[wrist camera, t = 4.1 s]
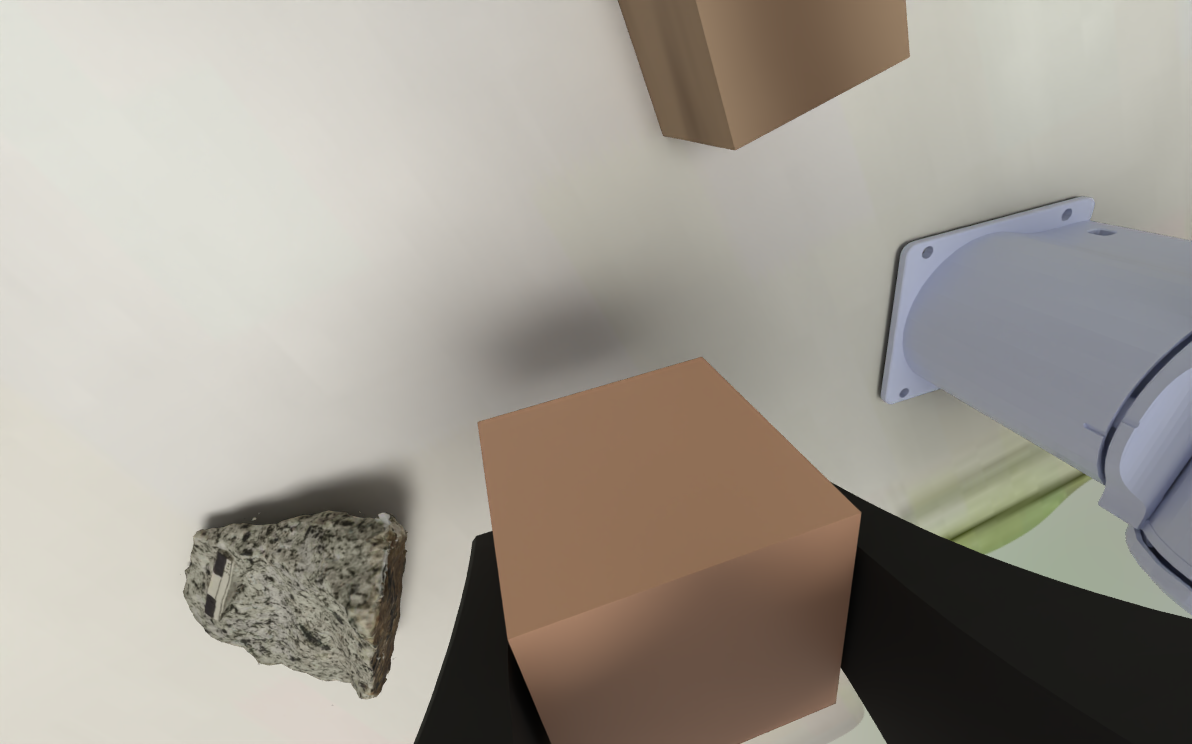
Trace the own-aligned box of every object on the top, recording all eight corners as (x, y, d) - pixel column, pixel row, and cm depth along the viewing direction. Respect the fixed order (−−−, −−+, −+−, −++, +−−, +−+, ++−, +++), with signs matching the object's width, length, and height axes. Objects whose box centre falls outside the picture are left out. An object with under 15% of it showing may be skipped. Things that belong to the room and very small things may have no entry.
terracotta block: (702, 356, 11) (861, 512, 7) (712, 517, 14) (835, 703, 10) (477, 421, 11) (507, 639, 6) (532, 580, 13) (579, 811, 9)
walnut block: (759, -123, 15) (889, -210, 10) (794, 64, 17) (909, 56, 13) (603, -41, 15) (671, -94, 10) (662, 135, 17) (734, 150, 13)
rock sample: (24, 560, 14) (232, 799, 12) (286, 399, 19) (462, 554, 17) (166, 642, 22) (306, 796, 20) (326, 513, 27) (450, 628, 25)
